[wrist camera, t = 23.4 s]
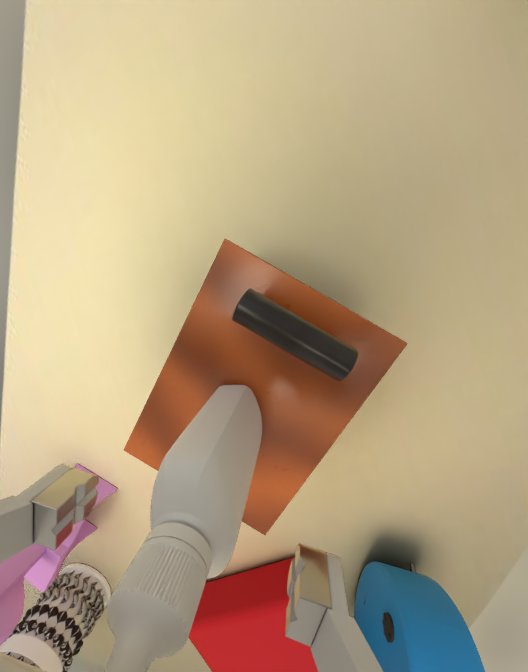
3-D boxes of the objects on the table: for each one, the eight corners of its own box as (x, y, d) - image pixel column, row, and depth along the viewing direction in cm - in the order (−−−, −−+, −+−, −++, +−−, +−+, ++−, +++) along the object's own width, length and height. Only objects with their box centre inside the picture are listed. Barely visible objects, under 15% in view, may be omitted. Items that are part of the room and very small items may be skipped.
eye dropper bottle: (195, 437, 18) (-2, 726, 6) (225, 372, 16) (48, 579, 5) (249, 465, 18) (153, 817, 6) (284, 401, 16) (249, 691, 5)
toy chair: (51, 503, 34) (-131, 663, 20) (70, 459, 32) (-117, 600, 18) (101, 535, 34) (-45, 719, 20) (124, 492, 32) (-21, 663, 18)
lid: (228, 240, 16) (196, 219, 11) (402, 340, 15) (450, 365, 10) (130, 443, 20) (74, 495, 15) (266, 525, 19) (255, 605, 14)
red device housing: (357, 659, 32) (367, 724, 27) (263, 675, 35) (257, 737, 30) (293, 553, 30) (292, 603, 26) (200, 580, 33) (183, 630, 29)
